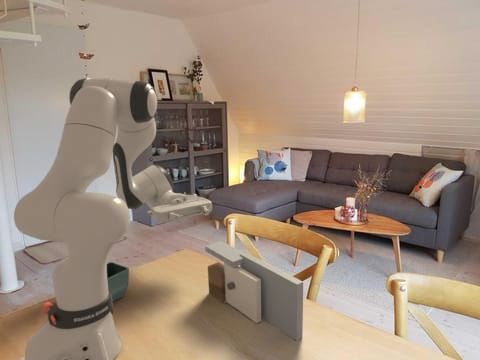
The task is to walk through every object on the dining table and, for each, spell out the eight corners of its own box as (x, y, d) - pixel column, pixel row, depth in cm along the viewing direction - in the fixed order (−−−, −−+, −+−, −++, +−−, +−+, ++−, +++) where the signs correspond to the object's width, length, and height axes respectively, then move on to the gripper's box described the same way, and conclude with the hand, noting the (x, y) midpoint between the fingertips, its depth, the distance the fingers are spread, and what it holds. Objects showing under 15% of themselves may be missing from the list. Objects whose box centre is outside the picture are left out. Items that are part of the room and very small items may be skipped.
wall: (285, 347, 88) (285, 290, 84) (207, 290, 114) (204, 244, 111) (302, 337, 91) (303, 281, 88) (223, 284, 118) (221, 239, 114)
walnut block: (222, 303, 107) (221, 274, 105) (209, 293, 112) (207, 265, 110) (233, 298, 109) (232, 270, 107) (219, 288, 115) (218, 262, 113)
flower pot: (89, 300, 110) (85, 272, 108) (114, 287, 117) (111, 261, 115) (107, 309, 105) (104, 280, 103) (132, 295, 112) (129, 268, 110)
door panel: (252, 325, 96) (251, 282, 93) (221, 302, 107) (220, 263, 104) (261, 320, 98) (260, 279, 95) (230, 298, 109) (228, 260, 106)
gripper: (144, 202, 120) (163, 211, 109) (198, 192, 132) (220, 200, 121) (145, 221, 121) (164, 232, 110) (199, 210, 133) (221, 219, 122)
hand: (194, 215), depth 116 cm, fingers open, 8 cm apart
